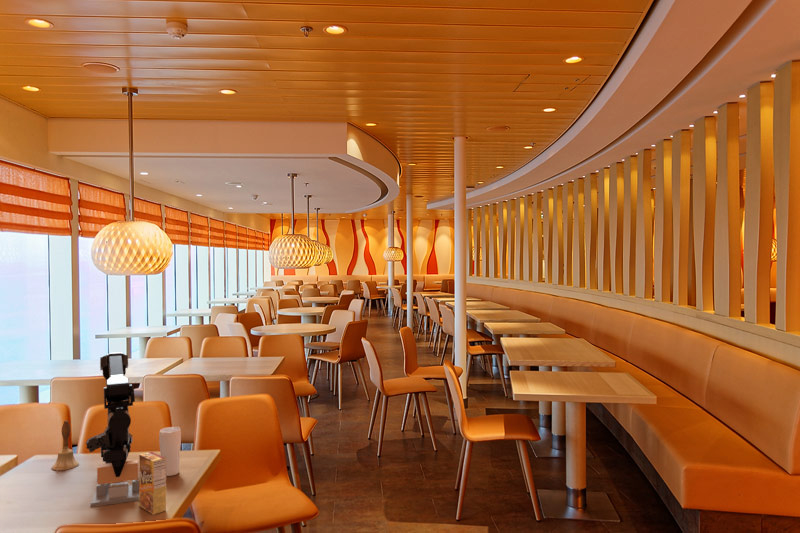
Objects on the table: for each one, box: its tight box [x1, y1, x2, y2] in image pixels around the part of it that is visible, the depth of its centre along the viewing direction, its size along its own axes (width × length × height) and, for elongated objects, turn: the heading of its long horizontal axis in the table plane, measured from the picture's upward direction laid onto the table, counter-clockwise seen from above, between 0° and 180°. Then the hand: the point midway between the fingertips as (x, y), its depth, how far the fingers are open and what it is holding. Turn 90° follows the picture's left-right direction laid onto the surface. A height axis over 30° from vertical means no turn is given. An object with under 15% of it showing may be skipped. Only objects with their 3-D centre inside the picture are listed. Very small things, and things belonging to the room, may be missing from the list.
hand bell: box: [51, 420, 80, 471], centre depth 200 cm, size 8×8×16 cm
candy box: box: [138, 451, 167, 516], centre depth 165 cm, size 9×4×15 cm, turn 50°
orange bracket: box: [96, 459, 139, 485], centre depth 175 cm, size 8×11×5 cm
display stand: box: [90, 477, 139, 508], centre depth 175 cm, size 12×14×4 cm
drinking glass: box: [158, 426, 182, 477], centre depth 193 cm, size 7×7×15 cm
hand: (118, 474), depth 173 cm, fingers closed on orange bracket, 3 cm apart
